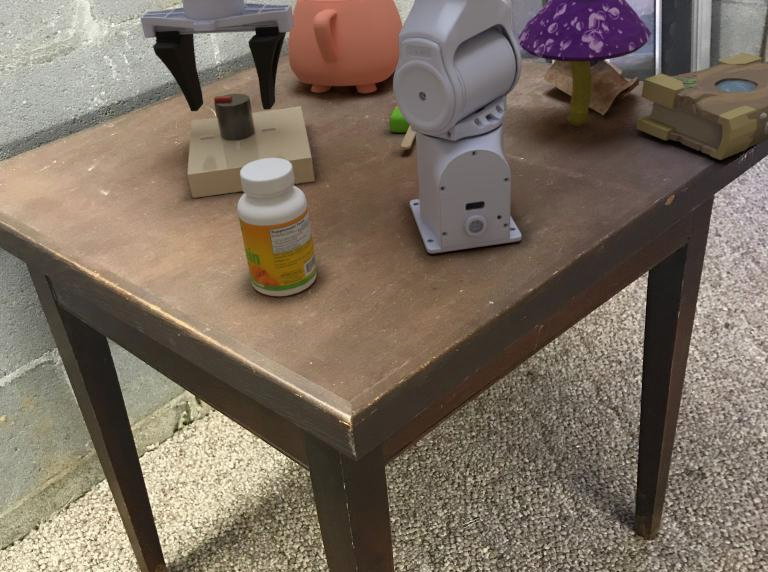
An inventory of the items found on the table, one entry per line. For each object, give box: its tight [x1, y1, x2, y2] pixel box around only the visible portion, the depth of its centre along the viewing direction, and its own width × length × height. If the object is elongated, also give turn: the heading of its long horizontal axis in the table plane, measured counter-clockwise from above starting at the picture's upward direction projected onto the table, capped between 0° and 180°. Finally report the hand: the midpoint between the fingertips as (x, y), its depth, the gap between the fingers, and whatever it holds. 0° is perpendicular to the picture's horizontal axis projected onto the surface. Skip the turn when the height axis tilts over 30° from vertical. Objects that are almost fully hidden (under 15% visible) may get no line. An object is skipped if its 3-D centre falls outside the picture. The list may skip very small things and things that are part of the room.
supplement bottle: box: [236, 158, 318, 297], centre depth 68 cm, size 5×5×10 cm
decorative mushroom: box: [517, 0, 652, 127], centre depth 85 cm, size 12×12×15 cm
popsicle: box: [389, 104, 416, 150], centre depth 93 cm, size 6×15×2 cm, turn 168°
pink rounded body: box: [288, 0, 404, 94], centre depth 104 cm, size 13×20×12 cm, turn 164°
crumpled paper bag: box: [542, 60, 641, 116], centre depth 96 cm, size 6×12×8 cm
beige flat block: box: [186, 105, 316, 199], centre depth 90 cm, size 14×12×3 cm
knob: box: [213, 93, 255, 140], centre depth 89 cm, size 4×4×4 cm
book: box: [636, 52, 768, 161], centre depth 85 cm, size 15×11×5 cm
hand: (233, 106), depth 89 cm, fingers open, 7 cm apart
